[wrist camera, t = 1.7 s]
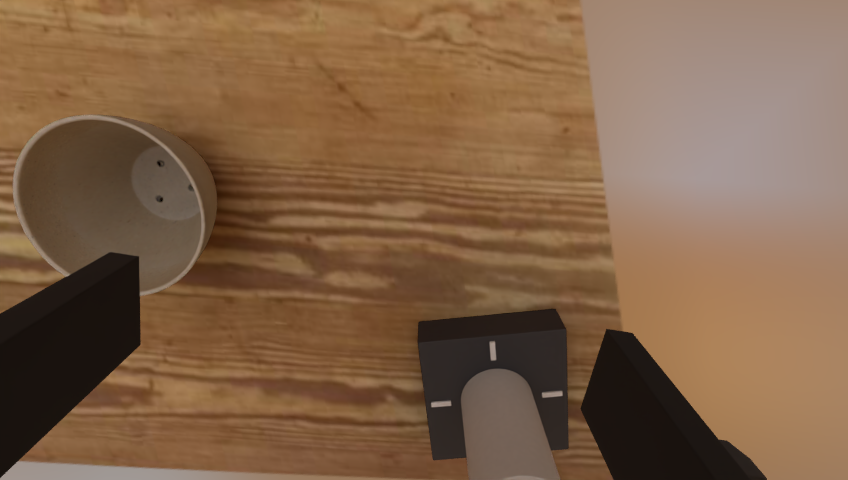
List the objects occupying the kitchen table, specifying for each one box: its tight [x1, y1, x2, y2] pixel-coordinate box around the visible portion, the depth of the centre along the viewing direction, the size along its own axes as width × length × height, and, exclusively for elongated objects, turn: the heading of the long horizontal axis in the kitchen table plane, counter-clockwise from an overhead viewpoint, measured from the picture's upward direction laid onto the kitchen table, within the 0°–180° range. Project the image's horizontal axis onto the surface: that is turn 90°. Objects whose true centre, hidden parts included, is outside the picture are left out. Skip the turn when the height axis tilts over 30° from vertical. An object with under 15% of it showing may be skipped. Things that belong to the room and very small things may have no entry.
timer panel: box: [418, 309, 568, 460], centre depth 36 cm, size 10×10×3 cm
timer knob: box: [461, 369, 560, 480], centre depth 30 cm, size 5×5×10 cm
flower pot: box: [13, 115, 217, 296], centre depth 29 cm, size 10×10×7 cm
